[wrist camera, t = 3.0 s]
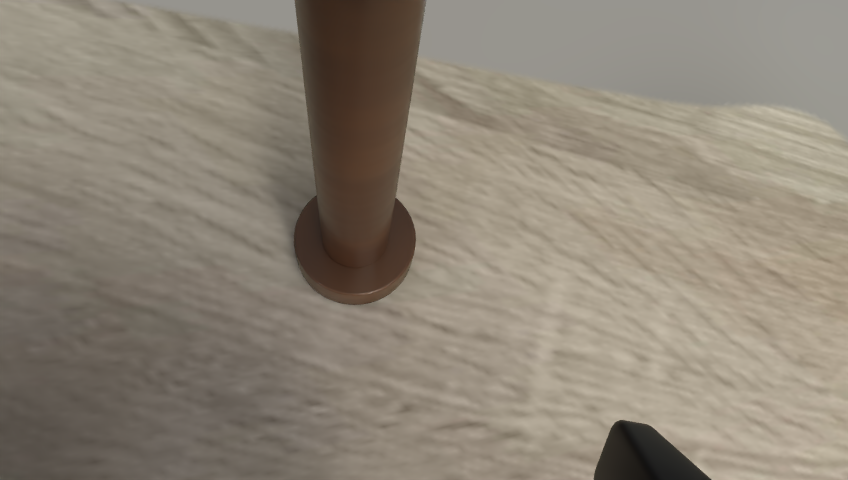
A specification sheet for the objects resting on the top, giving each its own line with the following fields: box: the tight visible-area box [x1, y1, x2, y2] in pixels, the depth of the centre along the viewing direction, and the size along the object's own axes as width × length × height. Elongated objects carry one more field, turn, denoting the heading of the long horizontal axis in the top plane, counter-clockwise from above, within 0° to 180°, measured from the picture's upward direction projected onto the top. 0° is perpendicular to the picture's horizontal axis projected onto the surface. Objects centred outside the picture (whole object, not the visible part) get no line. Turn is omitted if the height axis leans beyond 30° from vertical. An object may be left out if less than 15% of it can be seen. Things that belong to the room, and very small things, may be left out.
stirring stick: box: [294, 0, 426, 305], centre depth 16 cm, size 4×4×14 cm
